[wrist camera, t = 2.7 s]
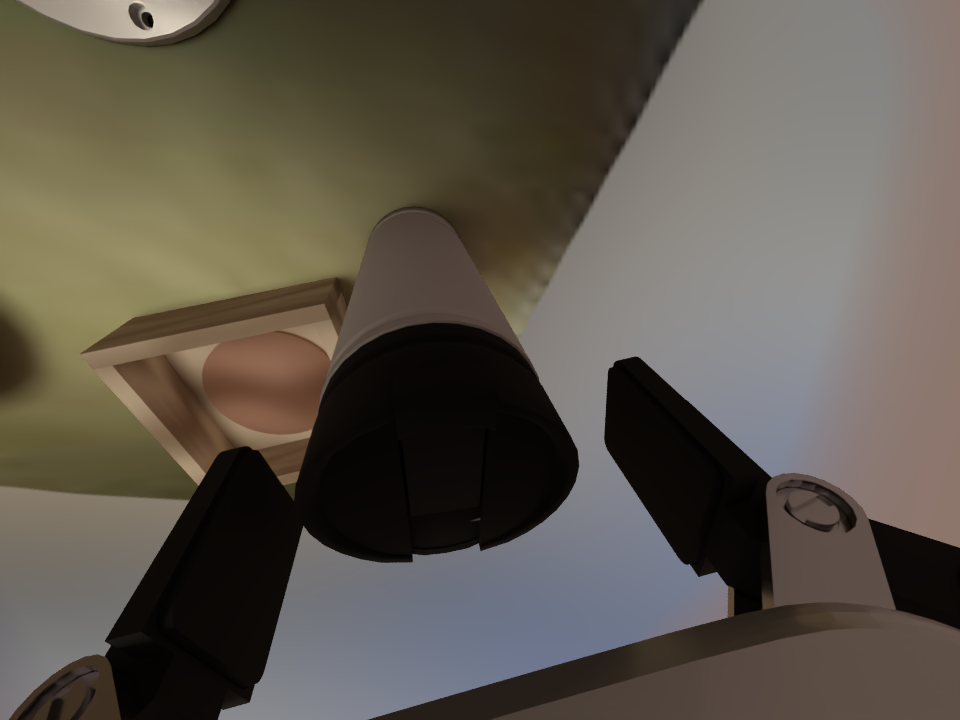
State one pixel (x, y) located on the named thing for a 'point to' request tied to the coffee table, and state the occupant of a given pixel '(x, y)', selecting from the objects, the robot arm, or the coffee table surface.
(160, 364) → the open box
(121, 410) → the coffee table surface
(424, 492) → the travel mug
